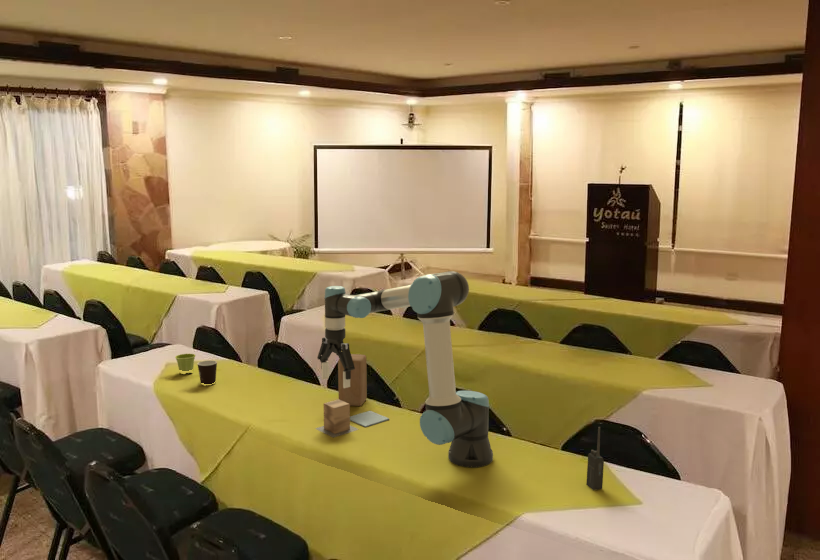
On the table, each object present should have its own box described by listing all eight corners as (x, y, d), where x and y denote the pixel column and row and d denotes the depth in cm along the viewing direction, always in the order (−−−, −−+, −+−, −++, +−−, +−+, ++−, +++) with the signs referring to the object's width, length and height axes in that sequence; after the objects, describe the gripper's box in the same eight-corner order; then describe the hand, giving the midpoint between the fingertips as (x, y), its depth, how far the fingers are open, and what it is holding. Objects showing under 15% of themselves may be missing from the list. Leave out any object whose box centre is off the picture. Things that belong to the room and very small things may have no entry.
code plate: (359, 429, 252) (359, 429, 252) (333, 437, 244) (333, 437, 244) (340, 421, 261) (340, 420, 261) (314, 428, 253) (314, 428, 253)
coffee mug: (214, 386, 303) (213, 365, 301) (195, 386, 303) (194, 365, 302) (222, 379, 314) (221, 358, 313) (203, 379, 315) (203, 358, 313)
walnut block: (349, 429, 253) (349, 403, 251) (334, 433, 248) (334, 408, 246) (338, 424, 258) (338, 399, 256) (324, 428, 253) (323, 403, 251)
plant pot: (172, 375, 320) (171, 358, 319) (182, 370, 329) (181, 353, 328) (190, 376, 318) (189, 359, 317) (199, 371, 328) (199, 353, 326)
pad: (389, 419, 262) (389, 418, 262) (365, 427, 254) (365, 426, 254) (370, 411, 271) (370, 410, 271) (346, 419, 263) (346, 417, 263)
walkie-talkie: (603, 489, 205) (606, 427, 202) (593, 490, 204) (596, 428, 201) (595, 482, 209) (597, 421, 206) (585, 484, 208) (588, 423, 205)
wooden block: (361, 407, 277) (360, 360, 274) (338, 405, 279) (337, 359, 276) (367, 399, 287) (366, 354, 283) (345, 397, 289) (344, 352, 285)
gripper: (364, 332, 240) (364, 388, 244) (324, 320, 258) (324, 373, 262) (347, 335, 235) (347, 393, 239) (307, 323, 253) (308, 377, 257)
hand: (335, 383), depth 250 cm, fingers open, 13 cm apart
